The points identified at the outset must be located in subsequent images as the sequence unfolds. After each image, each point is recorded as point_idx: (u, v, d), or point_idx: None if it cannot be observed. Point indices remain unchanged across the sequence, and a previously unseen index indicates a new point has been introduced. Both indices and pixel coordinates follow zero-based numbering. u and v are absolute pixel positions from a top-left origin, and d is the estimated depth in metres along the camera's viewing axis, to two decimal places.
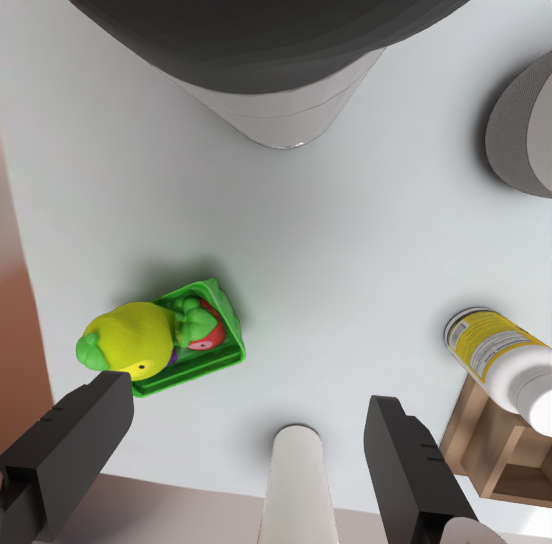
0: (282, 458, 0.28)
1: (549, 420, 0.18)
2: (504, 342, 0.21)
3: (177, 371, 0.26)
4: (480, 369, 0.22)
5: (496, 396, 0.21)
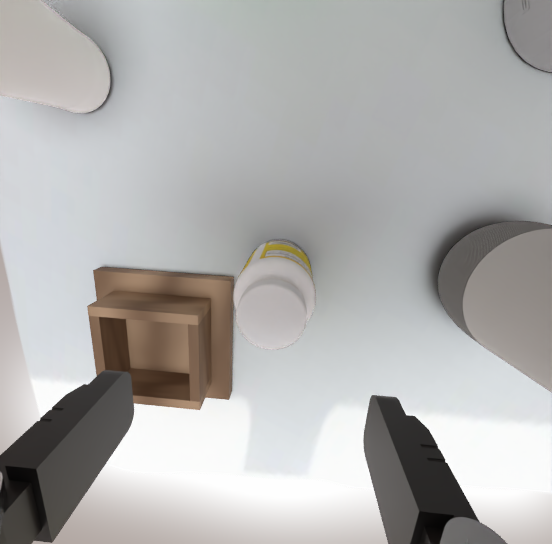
0: (63, 20, 0.18)
1: (257, 308, 0.16)
2: (308, 271, 0.20)
3: None
4: (273, 254, 0.19)
5: (255, 268, 0.18)
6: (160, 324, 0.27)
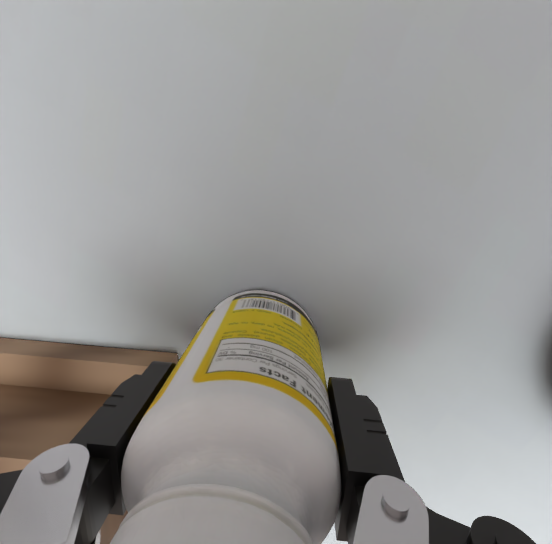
0: None
1: None
2: (320, 400, 0.08)
3: None
4: (232, 362, 0.08)
5: (169, 425, 0.06)
6: None
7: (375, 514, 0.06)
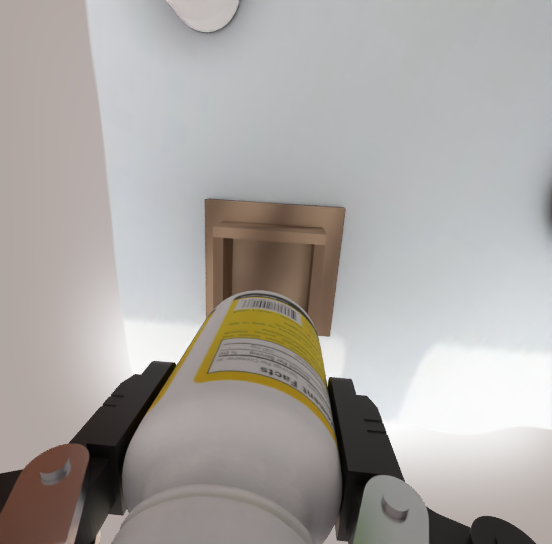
0: None
1: None
2: (321, 400, 0.08)
3: None
4: (233, 363, 0.08)
5: (170, 425, 0.06)
6: (267, 256, 0.27)
7: (375, 514, 0.06)
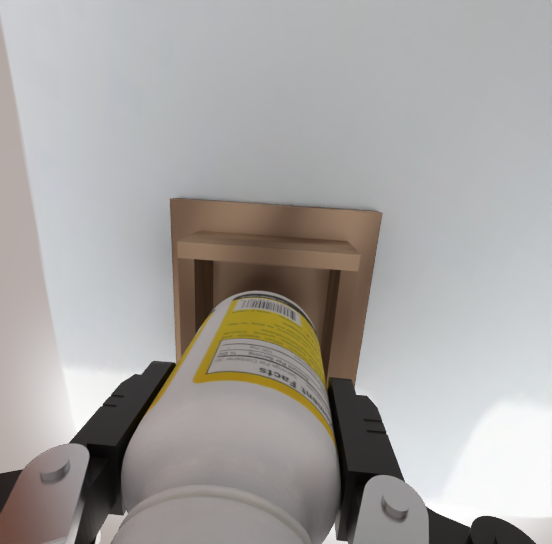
0: None
1: None
2: (320, 400, 0.08)
3: None
4: (232, 363, 0.08)
5: (170, 426, 0.06)
6: (264, 283, 0.18)
7: (375, 514, 0.06)
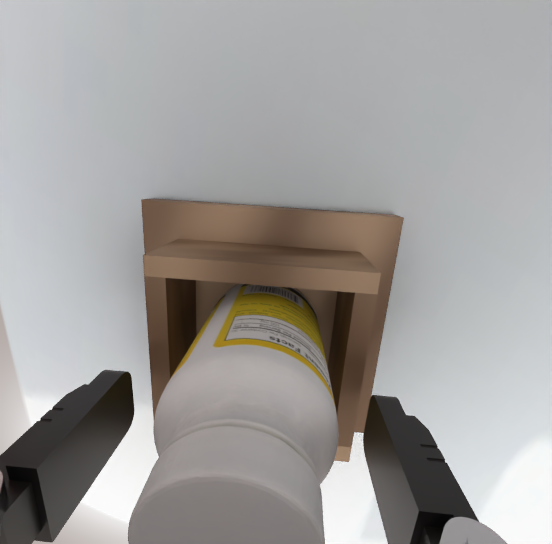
0: None
1: (185, 527, 0.06)
2: (320, 366, 0.09)
3: None
4: (246, 333, 0.09)
5: (197, 379, 0.08)
6: None
7: None
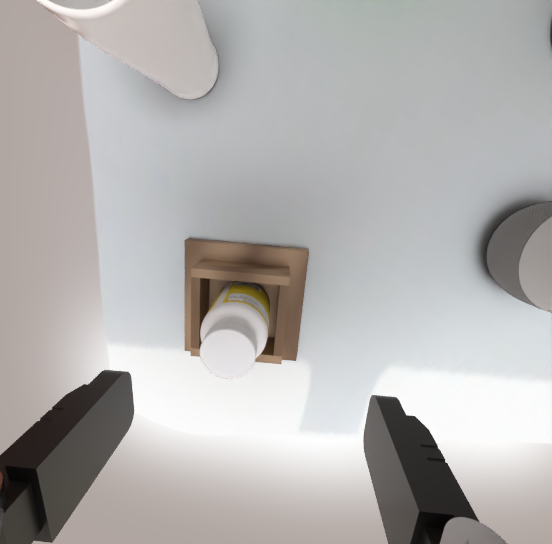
0: None
1: (217, 347, 0.21)
2: (262, 312, 0.24)
3: None
4: (234, 298, 0.24)
5: (217, 311, 0.23)
6: None
7: None
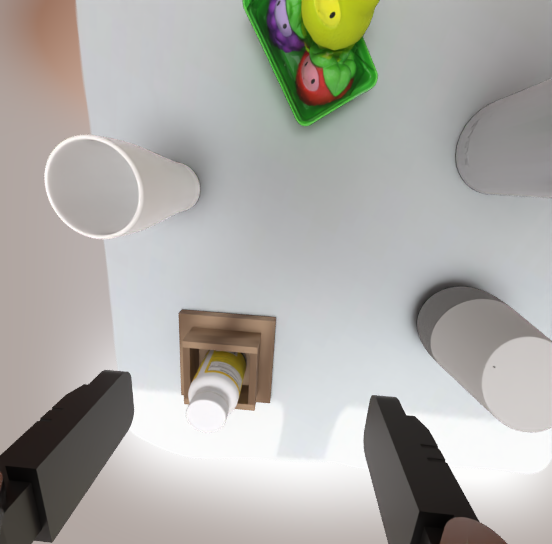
0: (184, 170, 0.29)
1: (197, 411, 0.29)
2: (235, 377, 0.32)
3: (270, 51, 0.26)
4: (213, 368, 0.32)
5: (200, 381, 0.31)
6: None
7: None
